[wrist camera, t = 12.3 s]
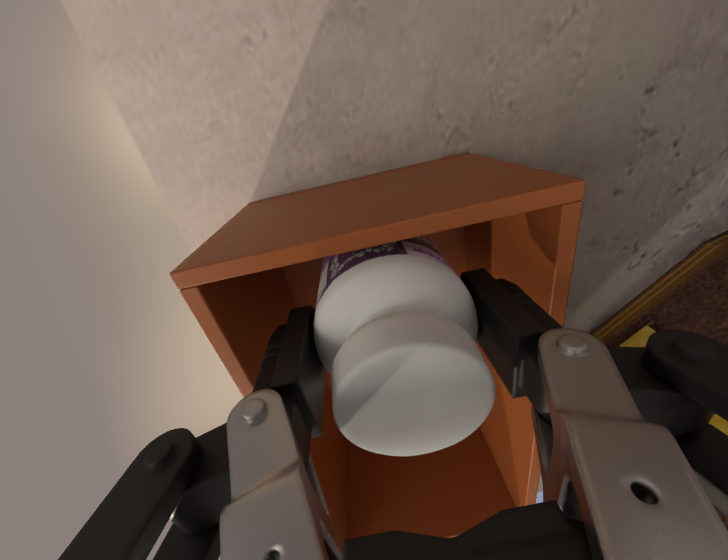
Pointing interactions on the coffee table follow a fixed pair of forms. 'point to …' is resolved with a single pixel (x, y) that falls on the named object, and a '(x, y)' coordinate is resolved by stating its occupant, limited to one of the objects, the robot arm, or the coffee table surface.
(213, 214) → the coffee table surface
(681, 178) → the coffee table surface
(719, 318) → the book
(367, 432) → the pill bottle
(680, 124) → the coffee table surface
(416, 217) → the orange open bin
